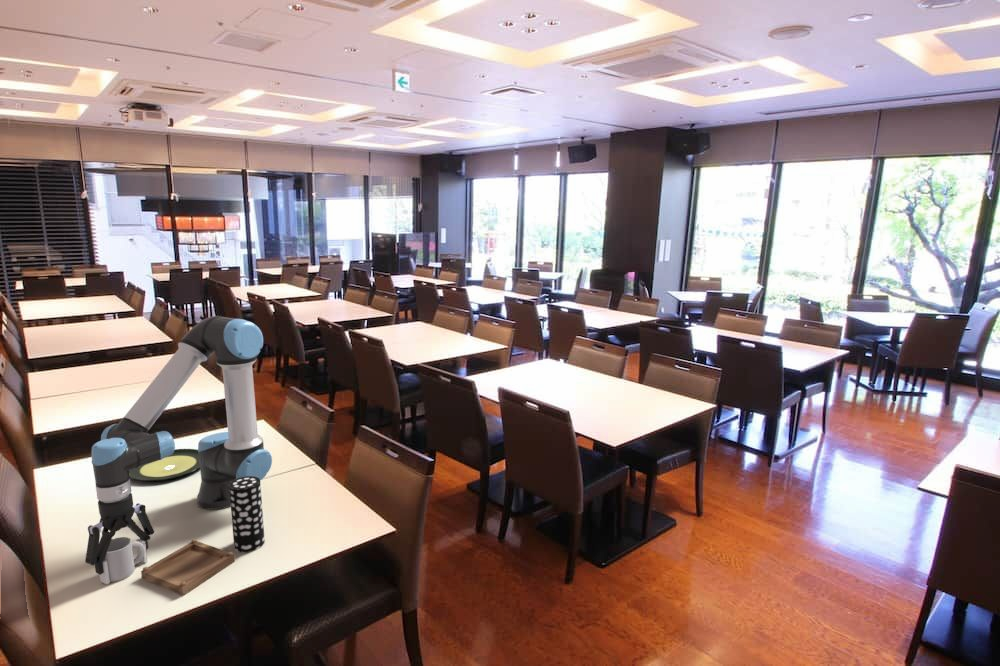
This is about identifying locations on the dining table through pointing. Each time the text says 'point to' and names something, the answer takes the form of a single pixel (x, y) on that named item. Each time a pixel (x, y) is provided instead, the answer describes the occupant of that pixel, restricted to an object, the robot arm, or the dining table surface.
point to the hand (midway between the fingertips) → (124, 571)
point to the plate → (155, 471)
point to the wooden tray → (187, 567)
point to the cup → (122, 558)
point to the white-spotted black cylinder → (246, 513)
